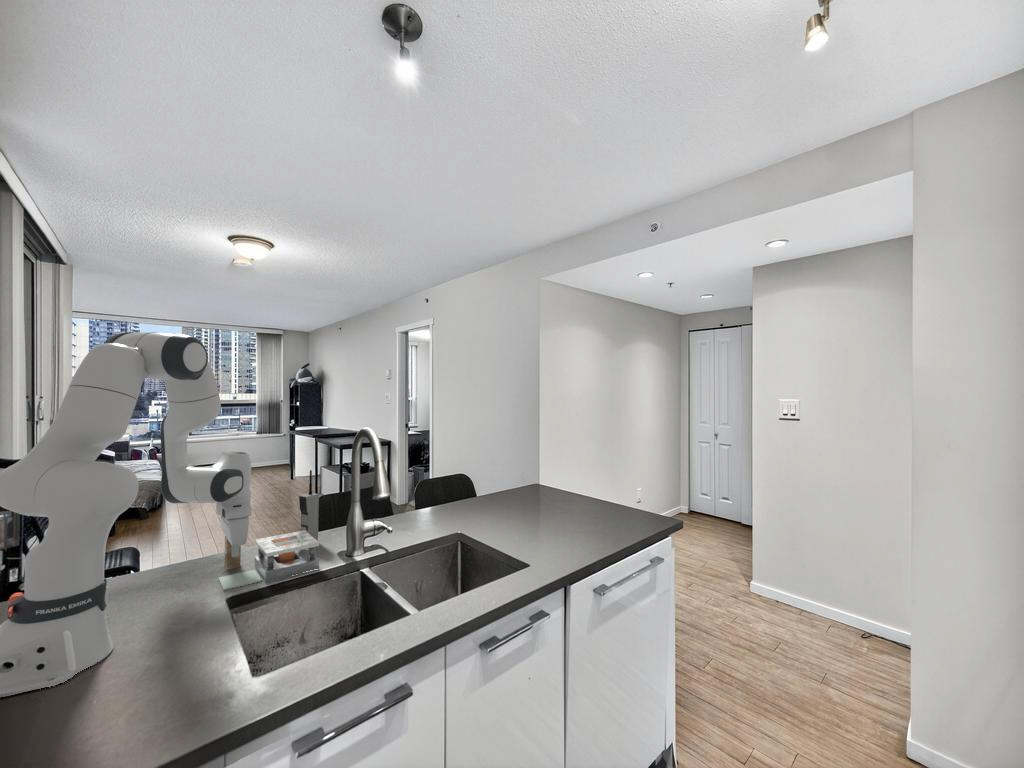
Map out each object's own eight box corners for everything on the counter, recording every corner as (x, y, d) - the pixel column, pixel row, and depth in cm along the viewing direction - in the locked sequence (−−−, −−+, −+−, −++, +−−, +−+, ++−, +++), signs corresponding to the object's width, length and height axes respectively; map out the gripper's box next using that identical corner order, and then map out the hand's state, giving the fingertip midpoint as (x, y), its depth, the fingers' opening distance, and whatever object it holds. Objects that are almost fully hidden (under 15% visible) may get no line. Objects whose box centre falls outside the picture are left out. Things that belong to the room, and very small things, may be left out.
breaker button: (280, 563, 130) (280, 549, 130) (276, 559, 133) (276, 545, 133) (296, 560, 133) (296, 546, 133) (292, 555, 136) (292, 542, 136)
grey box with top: (265, 582, 123) (266, 553, 123) (254, 566, 134) (254, 539, 134) (318, 569, 132) (319, 542, 132) (304, 555, 143) (304, 530, 143)
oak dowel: (226, 569, 131) (227, 538, 131) (224, 566, 134) (225, 535, 134) (240, 566, 133) (240, 536, 133) (238, 563, 136) (238, 533, 136)
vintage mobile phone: (297, 545, 152) (299, 470, 152) (310, 540, 156) (311, 468, 156) (305, 547, 150) (306, 472, 150) (318, 542, 154) (319, 469, 154)
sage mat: (223, 590, 118) (223, 589, 118) (218, 579, 125) (218, 577, 125) (262, 581, 124) (262, 579, 124) (255, 570, 131) (255, 569, 131)
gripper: (215, 500, 139) (214, 544, 139) (226, 515, 124) (225, 565, 124) (239, 497, 143) (238, 540, 143) (252, 511, 128) (251, 560, 128)
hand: (232, 552), depth 133 cm, fingers open, 6 cm apart
